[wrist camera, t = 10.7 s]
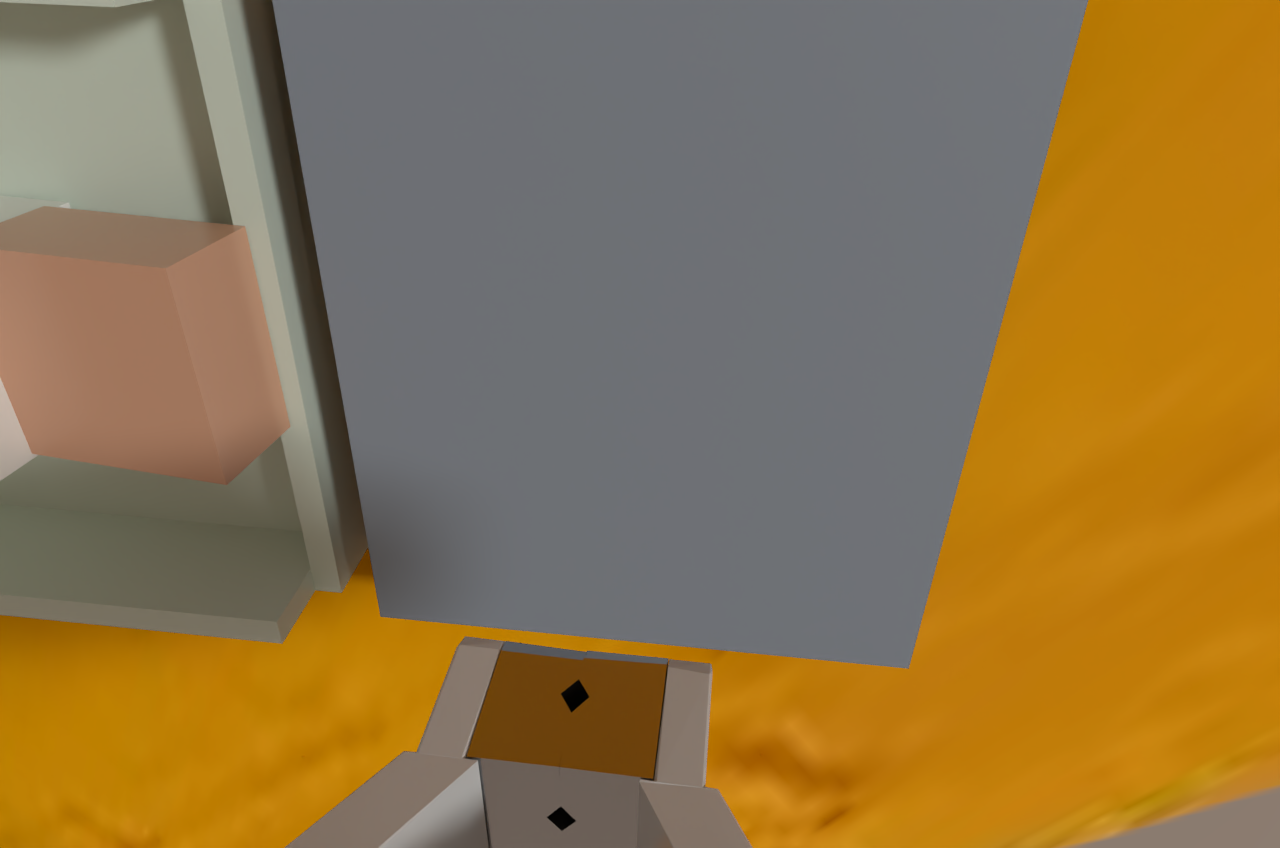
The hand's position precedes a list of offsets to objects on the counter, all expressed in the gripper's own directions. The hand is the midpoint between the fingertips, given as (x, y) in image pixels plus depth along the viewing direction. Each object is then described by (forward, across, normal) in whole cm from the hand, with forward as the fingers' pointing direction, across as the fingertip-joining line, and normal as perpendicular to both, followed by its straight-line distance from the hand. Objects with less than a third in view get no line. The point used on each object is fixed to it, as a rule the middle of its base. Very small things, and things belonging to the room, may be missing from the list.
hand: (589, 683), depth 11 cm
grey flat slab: (+12, 0, +1) cm, 12 cm away
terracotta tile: (+10, +12, +1) cm, 15 cm away
